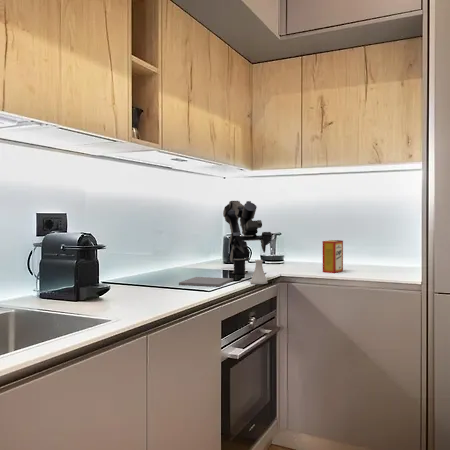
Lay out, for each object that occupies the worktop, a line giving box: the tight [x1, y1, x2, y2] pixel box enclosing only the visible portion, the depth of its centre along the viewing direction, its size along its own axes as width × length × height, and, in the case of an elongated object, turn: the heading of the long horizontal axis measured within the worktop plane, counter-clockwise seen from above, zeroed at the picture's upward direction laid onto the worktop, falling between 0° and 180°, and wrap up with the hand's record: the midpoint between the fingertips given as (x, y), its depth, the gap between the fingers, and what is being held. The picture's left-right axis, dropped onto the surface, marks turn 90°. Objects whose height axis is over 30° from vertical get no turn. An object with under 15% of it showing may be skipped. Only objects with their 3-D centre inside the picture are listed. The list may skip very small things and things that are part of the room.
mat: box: [178, 276, 234, 288], centre depth 202 cm, size 18×18×1 cm
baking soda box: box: [322, 239, 344, 274], centre depth 236 cm, size 10×6×16 cm
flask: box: [250, 259, 269, 285], centre depth 199 cm, size 7×7×10 cm
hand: (254, 252), depth 205 cm, fingers open, 9 cm apart
